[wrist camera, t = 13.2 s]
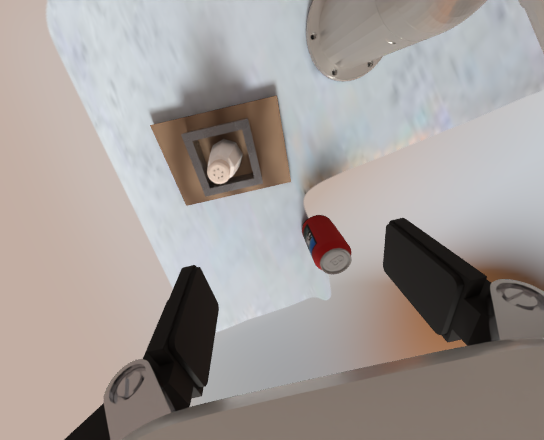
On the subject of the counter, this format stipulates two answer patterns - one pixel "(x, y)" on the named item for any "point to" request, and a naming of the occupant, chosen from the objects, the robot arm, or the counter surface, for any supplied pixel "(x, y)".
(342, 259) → the beverage can
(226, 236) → the counter surface
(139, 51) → the counter surface
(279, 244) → the counter surface
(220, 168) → the salt shaker
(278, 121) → the walnut board
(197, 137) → the metal socket
